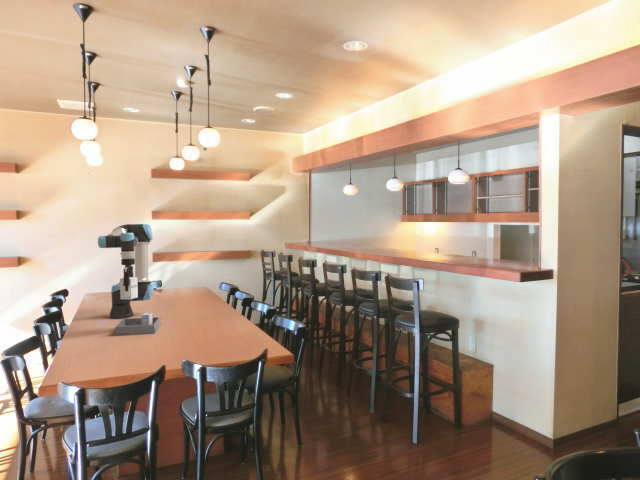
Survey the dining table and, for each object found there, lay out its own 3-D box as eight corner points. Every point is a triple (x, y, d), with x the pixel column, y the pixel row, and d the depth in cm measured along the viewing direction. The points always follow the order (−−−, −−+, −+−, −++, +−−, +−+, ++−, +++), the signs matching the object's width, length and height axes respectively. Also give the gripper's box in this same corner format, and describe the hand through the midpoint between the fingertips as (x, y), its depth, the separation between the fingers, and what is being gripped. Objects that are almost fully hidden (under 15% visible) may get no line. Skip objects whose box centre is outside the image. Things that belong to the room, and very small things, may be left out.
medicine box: (145, 326, 276) (145, 312, 276) (152, 326, 277) (152, 312, 276) (141, 329, 268) (141, 315, 268) (149, 329, 269) (148, 315, 268)
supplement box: (131, 299, 265) (130, 278, 264) (120, 299, 267) (119, 278, 266) (138, 297, 272) (137, 277, 272) (127, 297, 274) (126, 276, 273)
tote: (124, 326, 280) (123, 318, 280) (160, 324, 284) (160, 317, 284) (115, 335, 259) (114, 327, 258) (154, 333, 263) (154, 325, 263)
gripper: (125, 256, 278) (126, 292, 279) (116, 259, 257) (118, 298, 258) (138, 256, 280) (139, 292, 281) (130, 259, 258) (131, 297, 260)
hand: (129, 295), depth 269 cm, fingers closed on supplement box, 9 cm apart
